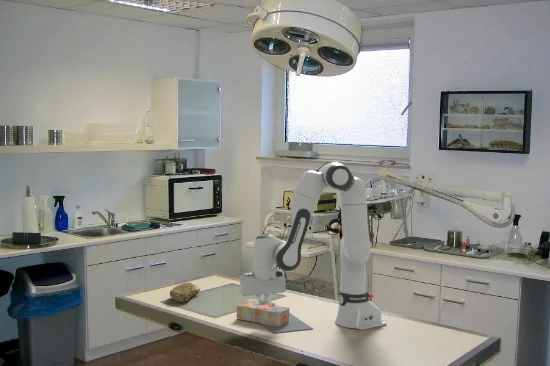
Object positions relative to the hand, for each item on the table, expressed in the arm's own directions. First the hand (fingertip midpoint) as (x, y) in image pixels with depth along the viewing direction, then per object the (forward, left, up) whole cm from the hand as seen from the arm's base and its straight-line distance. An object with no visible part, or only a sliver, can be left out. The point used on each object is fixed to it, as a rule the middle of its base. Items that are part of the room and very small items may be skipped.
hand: (262, 304), depth 265 cm
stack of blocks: (+1, -2, -6) cm, 6 cm away
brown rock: (+21, -49, -9) cm, 54 cm away
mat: (-9, -1, -9) cm, 13 cm away
